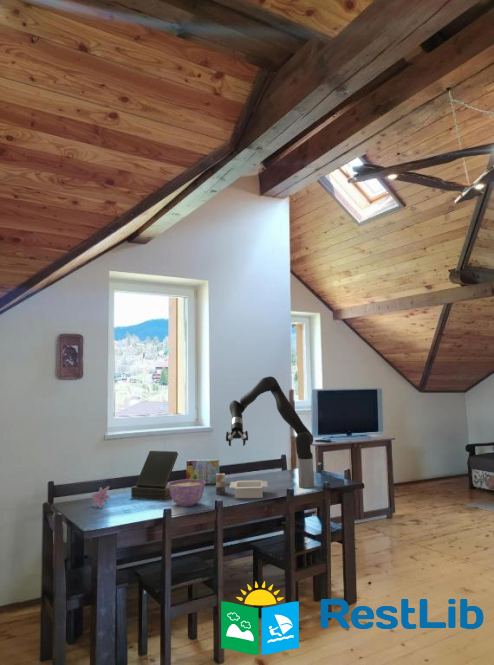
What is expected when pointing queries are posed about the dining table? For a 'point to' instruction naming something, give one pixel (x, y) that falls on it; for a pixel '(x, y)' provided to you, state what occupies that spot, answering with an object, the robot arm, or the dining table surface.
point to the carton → (248, 488)
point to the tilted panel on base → (155, 476)
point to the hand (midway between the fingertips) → (237, 445)
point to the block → (220, 483)
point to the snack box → (203, 470)
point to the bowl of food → (186, 491)
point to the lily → (100, 496)
